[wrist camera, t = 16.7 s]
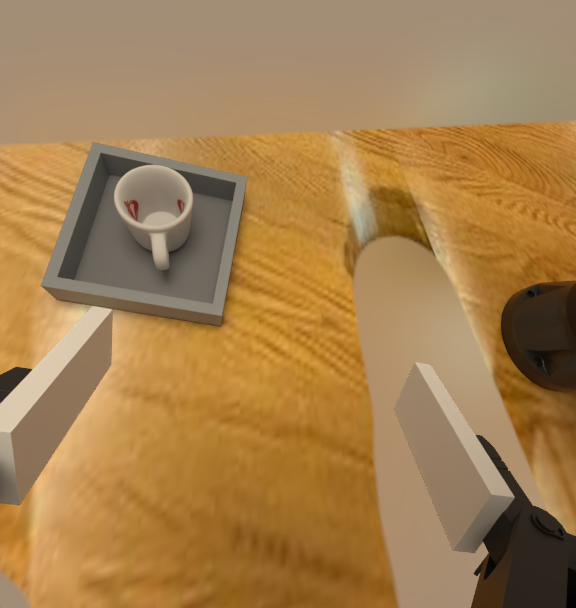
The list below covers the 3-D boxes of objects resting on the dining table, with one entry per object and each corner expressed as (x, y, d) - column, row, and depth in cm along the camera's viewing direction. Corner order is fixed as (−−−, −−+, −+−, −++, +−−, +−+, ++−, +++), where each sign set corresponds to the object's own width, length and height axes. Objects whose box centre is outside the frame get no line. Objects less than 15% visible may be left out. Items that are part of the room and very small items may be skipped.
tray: (244, 197, 51) (247, 176, 47) (220, 326, 45) (221, 316, 41) (102, 166, 49) (92, 142, 44) (57, 299, 42) (40, 285, 38)
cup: (200, 280, 46) (199, 251, 39) (131, 286, 44) (115, 257, 37) (192, 203, 49) (189, 163, 42) (127, 205, 47) (111, 163, 40)
